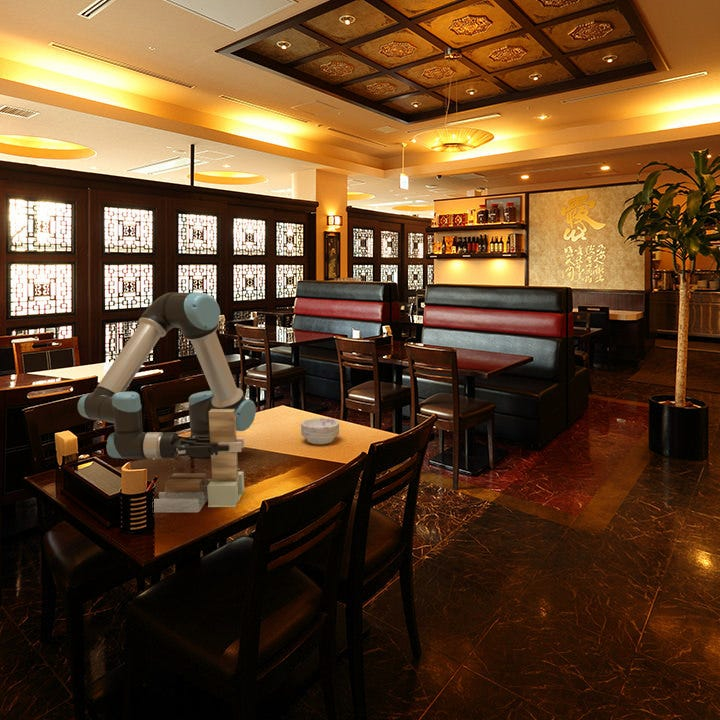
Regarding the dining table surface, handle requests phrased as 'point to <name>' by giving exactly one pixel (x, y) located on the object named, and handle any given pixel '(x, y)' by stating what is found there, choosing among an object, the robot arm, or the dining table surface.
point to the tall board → (223, 431)
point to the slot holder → (225, 492)
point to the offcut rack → (181, 500)
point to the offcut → (191, 477)
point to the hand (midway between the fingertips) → (242, 445)
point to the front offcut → (184, 485)
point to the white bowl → (320, 430)
